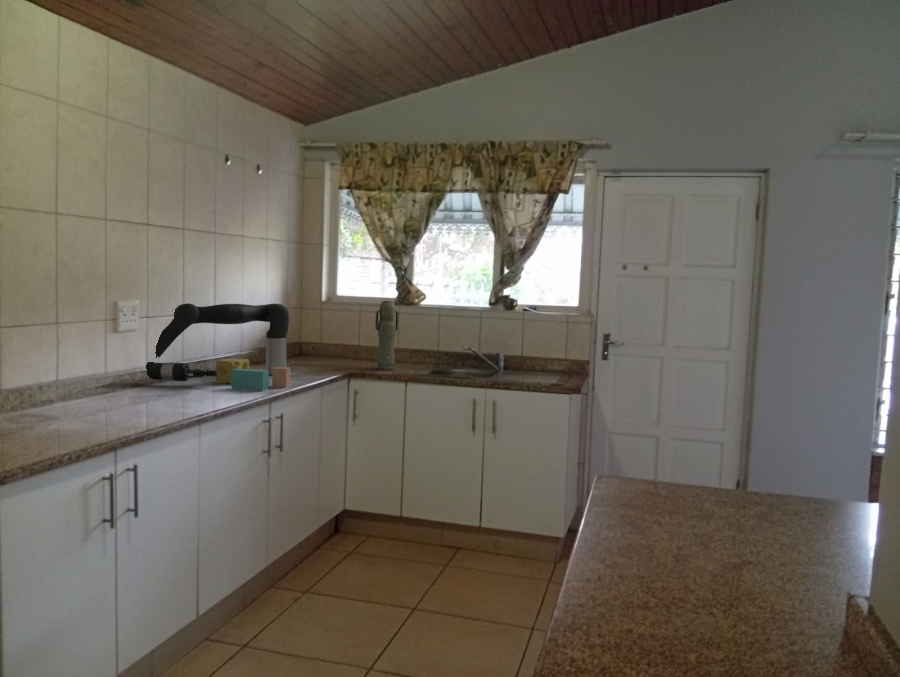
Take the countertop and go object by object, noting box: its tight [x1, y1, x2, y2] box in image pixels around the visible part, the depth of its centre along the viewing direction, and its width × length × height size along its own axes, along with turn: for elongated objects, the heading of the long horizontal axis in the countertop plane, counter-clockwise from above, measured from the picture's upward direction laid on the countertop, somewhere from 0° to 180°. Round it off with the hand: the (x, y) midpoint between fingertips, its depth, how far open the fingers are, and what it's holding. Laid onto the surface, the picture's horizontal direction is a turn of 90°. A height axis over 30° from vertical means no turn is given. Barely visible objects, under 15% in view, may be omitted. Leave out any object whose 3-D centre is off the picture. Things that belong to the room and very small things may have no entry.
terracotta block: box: [271, 366, 291, 388], centre depth 301 cm, size 6×6×8 cm
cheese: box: [215, 358, 250, 385], centre depth 307 cm, size 10×11×10 cm
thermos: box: [374, 300, 399, 371], centre depth 368 cm, size 9×12×35 cm
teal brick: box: [230, 368, 270, 391], centre depth 292 cm, size 5×14×8 cm, turn 78°
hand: (216, 373), depth 292 cm, fingers closed
